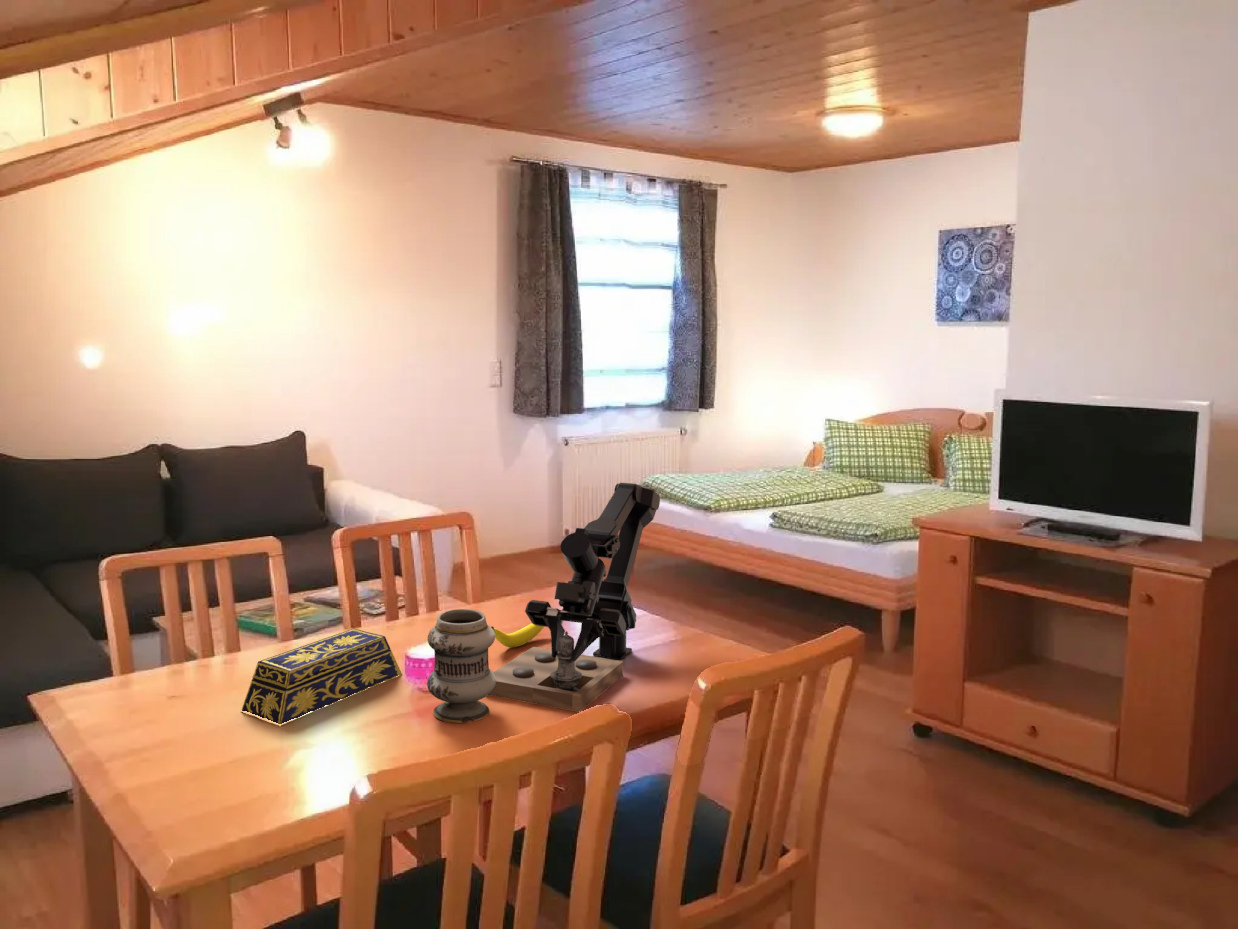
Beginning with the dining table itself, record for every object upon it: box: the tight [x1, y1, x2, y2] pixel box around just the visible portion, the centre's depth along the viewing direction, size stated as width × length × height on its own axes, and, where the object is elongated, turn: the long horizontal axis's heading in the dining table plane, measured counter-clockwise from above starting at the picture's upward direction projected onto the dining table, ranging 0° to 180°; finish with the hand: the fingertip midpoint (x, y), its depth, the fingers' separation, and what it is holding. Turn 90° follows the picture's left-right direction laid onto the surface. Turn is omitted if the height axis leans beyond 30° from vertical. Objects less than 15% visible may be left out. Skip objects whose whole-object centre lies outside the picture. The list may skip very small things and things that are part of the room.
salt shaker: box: [550, 630, 582, 692], centre depth 184 cm, size 6×6×12 cm
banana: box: [490, 622, 545, 648], centre depth 213 cm, size 3×19×6 cm, turn 144°
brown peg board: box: [488, 646, 624, 713], centre depth 191 cm, size 20×20×4 cm
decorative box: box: [241, 628, 403, 724], centre depth 185 cm, size 11×30×9 cm, turn 149°
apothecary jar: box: [426, 608, 496, 724], centre depth 176 cm, size 12×12×18 cm
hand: (563, 658), depth 183 cm, fingers closed on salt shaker, 4 cm apart
